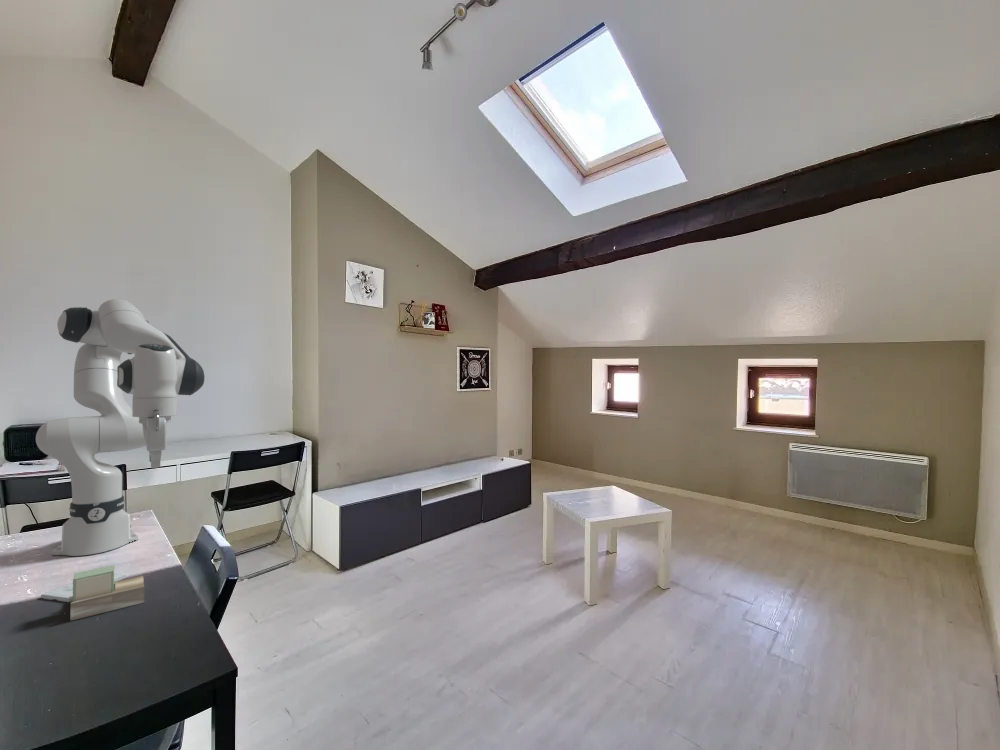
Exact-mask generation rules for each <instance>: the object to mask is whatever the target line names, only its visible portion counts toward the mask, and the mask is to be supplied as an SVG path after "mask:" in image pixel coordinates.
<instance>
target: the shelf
mask: <svg viewBox="0 0 1000 750" xmlns="http://www.w3.org/2000/svg"><path fill="white" fill-rule="evenodd" d="M144 579H145V578H144V575H139V576H135V577H129V578H126V579H125V578H124V579H121V580H119V581H115V582H114V592H113V593H109V594H104V595H100V596H96V597H91V598H87V599H83V600H78V601H74V602H73V601H70V613H69V615H70V617H69V619H70V620H69V621H70V622H72V621H75V620H79V619H84V618H87V617H92V616H95V615H100V614H103V613H108V612H112V611H115V610H120V609H123V608H128V607H131V606H135V605H139V604H143V603H145V582H144Z"/></svg>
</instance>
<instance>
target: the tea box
mask: <svg viewBox="0 0 1000 750" xmlns="http://www.w3.org/2000/svg"><path fill="white" fill-rule="evenodd" d="M114 573H115V564H112V565H107V566H102V567H98V568H93V569H87V570H82V571H79V572H78V571H77V572H75V573H74V574H73V577H72V582H73V601H72V602H74V601H78V600H83V599H87V598H91V597H96V596H100V595H104V594H109V593H113V592H114Z"/></svg>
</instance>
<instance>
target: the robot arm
mask: <svg viewBox="0 0 1000 750" xmlns="http://www.w3.org/2000/svg"><path fill="white" fill-rule="evenodd" d="M56 325H57V330H58V333H59V334H58V335H59V336H60V337H61V338H62V339H63V340H66V341H69V342H71V343H72V342H73V343H76V344H77V343H81V344H83V345H81V346H80V347H79V348H78V350H77V353H76V357H75V362H74V369H73V398H74V400H75V402H77V403H78V404H79V405H80V406H83V407H84V408H86V409H87V408H88V409H90V410H91V409H92V410H93V411H97V412H98V413H99V414H100V415H96V416H95V415H94V416H71V417H70V416H69V417H63V418H59V419H53V420H52V419H51V420H48V421H46V422H44V423H43V424H41V426H40V427H39V428H38V430H37V432H36V434H35V443H36V446H37V448H38V449H39V450H40V452H42V453H43V454H44V455H47V456H49V457H51V458H54V459H55V460H56V461H58V462H59V463H61V465H62V466H63V467H64V468H65V469H66V471H67V472H68V474H69V475H68V476H69V477H70V482H71V483H70V484H71V502H70V504H69V509H68V510H69V516H70V517H69V518H68V519H67V520H66V521H65V522H64V523H63V524H62V527H61V544H59V545H58V546H57V547H56V548H55V549H53V550H52V553H51V554H52V556H70V557H72V556H73V557H79V556H87V555H89V556H90V555H94V554H100V553H104V552H109V551H113V550H115V549H119V548H121V547H123V546H125V545H127V544H129V542H130V543H133V542H135V541H134V540H136V541H138V540H139V536H138V535H137V534H136V533H135V532H133V530H131V527H132V526H131V525H132V524H131V514H129V513H128V512H127V511H125V510H124V508H125V497H124V495H123V472H122V471H121V469H120V468H118V467H117V466H115V465H112V464H110V463H109V464H108V463H105V462H101V461H98V460H97V459H96V458H95V455H97V454H102V453H103V454H104V453H112V452H113V453H114V452H124V451H125V452H126V451H131V450H135V449H136V450H137V449H139V448H143V447H146V450H147V452H148V454H149V455H148V456H149V459H148V461H149V462H150V468H151V469H158V468H160V467H161V460H162V455H163V453H162V451H165V450H166V448H167V439H168V438H167V423H171V422H172V419H171V418H172V417H174V416H177V415H178V395H179V396H191V395H194V394H195V393H196V392H198V391H199V390H200V389H201V388H203V386H204V383H205V372H204V371H205V370H204V369H203V367H202V366H201V364H199V362H197V361H196V360H195V359H194V358H192V357H190V356H189V355H188V354H187V353H186V351H184V349H183V348H182V347H181V346H180V345H179V344H178V343H177V341H175V340H174V339H173V337H171V336H170V335H169V334H167V333H165V332H163V331H162V330H159V329H158V328H157V327H154V326H153V325H152V324H151V323H150V322H149V321H148V320H147V319H146V317H145V316H144V315H143V313H142V312H141V311H140V309H138V308H137V307H136V306H135V304H133V303H131V302H130V301H128V300H125V299H120V298H113V299H108V300H106V301H104V302H103V303H101V304H100V306H99V308H98V309H92V308H87V307H81V306H80V307H76V306H75V307H69V308H66V309H65V310H63V311H62V313H61V314H60V316H59V317H58V320H57V324H56ZM123 353H125V354H127V355H134V357H132V358H128V359H125V361H122V362H121V357H122V356H121V355H122V354H123ZM124 393H126V394H127V395H132V405H131V406H132V407H131V406H130V405H129V404H128V402H127V400H126V399H125V395H124ZM137 539H138V540H137ZM132 541H133V542H132Z"/></svg>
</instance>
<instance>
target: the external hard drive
mask: <svg viewBox="0 0 1000 750" xmlns="http://www.w3.org/2000/svg"><path fill="white" fill-rule="evenodd" d="M123 578H124V579H125V578H126V574H125V573H123V572H114V582H115V581H120V580H124V579H123ZM40 598H41V599H42V598H43V599H44V600H51V601H53V600H54V601H57V602H58V601H59V602H65V603H71V602H73V581H72V582H70V583H67V584H65V585H63V586H61V587H57V588H55V589H52V590H50V591H48V592H45V593H43V594H41V595H40ZM43 599H42V600H43Z"/></svg>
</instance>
